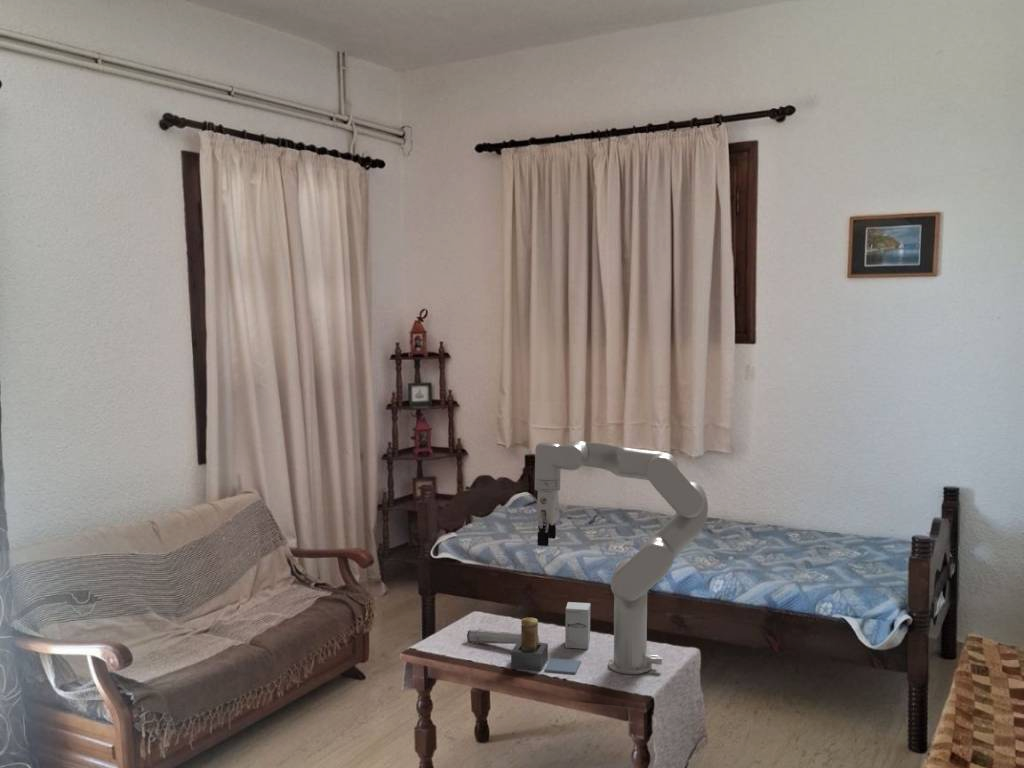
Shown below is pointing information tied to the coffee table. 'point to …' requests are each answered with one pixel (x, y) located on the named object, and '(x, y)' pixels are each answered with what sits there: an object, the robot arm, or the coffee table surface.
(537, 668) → the block
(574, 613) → the supplement box
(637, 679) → the coffee table surface
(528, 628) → the key peg
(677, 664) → the coffee table surface
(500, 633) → the grey wand device
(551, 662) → the rubber mat
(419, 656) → the coffee table surface
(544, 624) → the coffee table surface
